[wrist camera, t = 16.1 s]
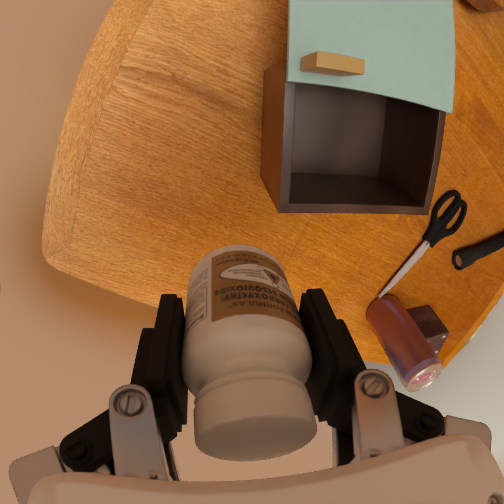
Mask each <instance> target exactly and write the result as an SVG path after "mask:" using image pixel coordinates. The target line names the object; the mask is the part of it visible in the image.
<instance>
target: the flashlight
mask: <svg viewBox="0 0 504 504" xmlns="http://www.w3.org/2000/svg"><path fill="white" fill-rule="evenodd" d="M503 247H504V233H503V234H501V235H499V236H497V237H495V238H492V239H490V240H488V241H486V242H484V243H481V244H480V245H477V246H475V247H472V248H467V249H464V250H462V251H459V252H456V253H454V254H453V256H452V262H453V265H454V267H455V268H456V269H457V270H462V269H464V268H466V267H468V266H470V265H472V264H473V263H474V262H475V261H476V260H478V259H480V258H483V257H485V256H487V255H489V254H491V253H493V252H495V251H497V250H499V249H501V248H503Z"/></svg>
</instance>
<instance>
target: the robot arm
mask: <svg viewBox="0 0 504 504" xmlns="http://www.w3.org/2000/svg"><path fill="white" fill-rule="evenodd" d="M299 315H300V318H301V321H302V325H303V327H304V330H305V333H306V336H307V339H308V342H309V346H310V349H311V353H312V359H313V362H312V369H311V372H310V375H309V377H308V379H307V381H306V383H305V384H304V385H305V387H306V389H307V391H308V395H309V397H310V399H311V403H312V408H313V412H314V415H317V416H318V419H319V422H322V421H327V423H328V425H329V426H331V427H332V437H333V438H332V439H333V468H329V469H325V470H319V471H314V472H309V473H303V474H297V475H290V476H284V477H275V478H266V479H256V480H244V481H243V480H242V481H221V482H187V481H186V482H185V481H181V479H180V475H179V472H178V468H177V464H176V460H175V456H174V452H173V448H172V444H171V441H172V440H173V439H174V438H175V437H177V432H181V431H182V425H186V424H187V402H188V401H187V399H188V388H187V386H186V384H185V382H184V380H183V377H182V372H181V357H182V346H183V336H184V324H185V315H184V309H183V302H182V298H177V295H176V294H162V295H161V298H160V303H159V308H158V313H157V317H156V322H155V328H143V330H142V333H141V337H140V341H139V345H138V350H137V354H136V359H135V364H134V368H133V373H132V378H131V383H130V384H128V385H125V386H121V387H119V388H118V389H116V390H115V391H114V392H113V393H112V395H111V397H110V399H109V409H108V410H106V411H104V412H103V413H101V414H100V415H98V416H97V417H95V418H94V419H92V420H91V421H89V422H88V423H86V424H84V425H83V426H81V427H80V428H78V429H76V430H75V431H73V432H72V433H70V434H69V435H67V436H66V437H65V438H63V440H62V442H61V443H60V446H58V447H54V446H50V447H48V448H46V449H43V450H40V451H38V452H35V453H32V454H30V455H27V456H24V457H21V458H19V459H16V460H15V461H13V462H12V463H11V465H10V468H9V477H10V480H11V483H12V486H13V489H14V492H15V495H16V497H17V500H18V502H19V504H504V477H503V475H502V473H501V471H500V469H499V467H498V464H497V462H496V460H495V459H494V457H493V455H492V454H491V431H490V429H489V428H488V426H487V425H485V424H483V423H481V422H476V421H471V420H467V419H462V418H457V417H453V416H449V415H447V416H446V417H443V416H442V414H441V413H440V412H439V411H438V410H437V409H435V408H433V407H431V406H429V405H427V404H424V403H422V402H420V401H417V400H415V399H413V398H411V397H408V396H406V395H404V394H402V393H399V392H397V391H395V389H394V384H393V382H392V380H391V378H390V377H389V376H388V375H387V374H386V373H384V372H383V371H380V370H377V369H366V367H365V364H364V362H363V360H362V358H361V356H360V354H359V351H358V349H357V347H356V345H355V343H354V341H353V339H352V337H351V335H350V333H349V330H348V328H347V326H346V324H345V322H344V321H343V320H342V319H336V317H335V315H334V312H333V310H332V308H331V306H330V304H329V302H328V300H327V298H326V296H325V294H324V291H323V290H322V289H321V288H318V289H307V291H306V293H302V296H301V302H300V308H299Z"/></svg>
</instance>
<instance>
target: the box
mask: <svg viewBox="0 0 504 504" xmlns="http://www.w3.org/2000/svg"><path fill="white" fill-rule="evenodd" d="M407 312H408V313H409V315H410V316H411V318H412V319H413V320H414V322H415V323H416V325H417V326H418V328H419V329H420V330H421V332H422V333H423V335H424V336H425V338H426V339H427V341H428V342H429V344H430V345H431V347H432V348H433V350H434V351H435V353H436V354H438V353H439V351H440V349H441V347H442V346H443V344H444V342H445V340H446V338H447V336H448V334H449V331H448V330H447V328H446V327H445V325H444V324H443V323H442V322H441V320H440V319H439V318H438V316H437V315H436V314H435V312H434V311H433V310H432V309H431V307H430V306H424V307H420V308H416V309H412V310H407Z"/></svg>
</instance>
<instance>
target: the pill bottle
mask: <svg viewBox="0 0 504 504" xmlns="http://www.w3.org/2000/svg"><path fill="white" fill-rule="evenodd" d="M312 362H313V359H312V353H311V349H310V346H309V342H308V339H307V336H306V333H305V330H304V327H303V325H302V321H301V318H300V315H299V312H298V310H297V307H296V304H295V301H294V298H293V295H292V292H291V290H290V288H289V284H288V282H287V279H286V276H285V273H284V270H283V268H282V266H281V265H280V263H279V262H278V261H277V260H276V259H275V258H274V257H273V256H272V255H270V254H269V253H268V252H266V251H264V250H262V249H260V248H257V247H253V246H249V245H242V244H238V245H229V246H224V247H221V248H218V249H216V250H213V251H211V252H210V253H208V254H206V255H205V256H204V257H203V258H202V259H201V260H200V261H199V262H198V263H197V264H196V266H195V267H194V269H193V271H192V273H191V276H190V280H189V287H188V294H187V304H186V314H185V324H184V336H183V346H182V357H181V372H182V377H183V380H184V382H185V384H186V386H187V388H188V389H189V391H190V392H191V393H192V394H193V395H194V396H195V397H196V398H195V401H194V404H195V408H194V435H195V443H196V445H197V447H198V449H199V450H201V451H202V452H203V453H205V454H207V455H209V456H212V457H215V458H218V459H223V460H230V461H257V460H266V459H271V458H275V457H280V456H283V455H286V454H289V453H291V452H293V451H296V450H298V449H300V448H302V447H303V446H305V445H306V444H308V443H309V442H310V441H311V440H312V439H313V438H314V436H315V435H316V432H317V424H316V420H315V416H314V412H313V408H312V403H311V399H310V397H309V395H308V391H307V389H306V387H305V386H304V384H305V383H306V381H307V379H308V377H309V375H310V372H311V369H312Z"/></svg>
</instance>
